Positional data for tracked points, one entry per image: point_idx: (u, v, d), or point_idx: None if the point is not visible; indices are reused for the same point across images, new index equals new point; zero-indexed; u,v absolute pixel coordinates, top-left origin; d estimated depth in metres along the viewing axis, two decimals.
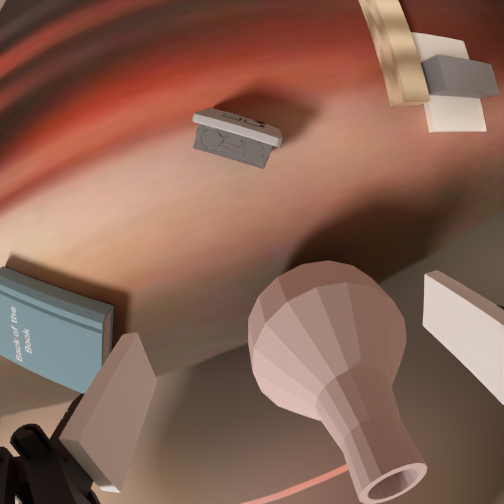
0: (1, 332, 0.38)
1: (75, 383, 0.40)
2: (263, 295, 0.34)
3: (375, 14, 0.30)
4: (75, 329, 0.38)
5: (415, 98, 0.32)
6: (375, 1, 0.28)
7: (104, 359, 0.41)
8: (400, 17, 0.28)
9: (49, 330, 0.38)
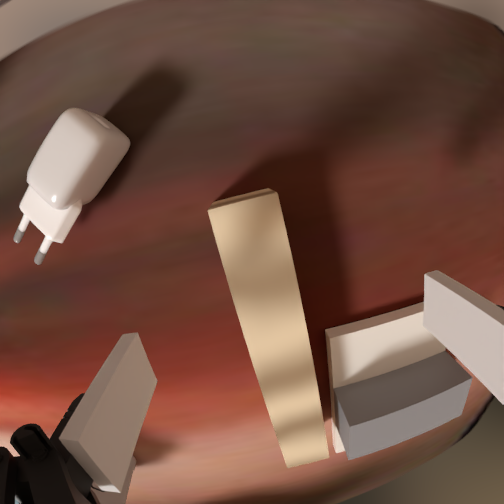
0: None
1: None
2: None
3: None
4: None
5: (303, 462, 0.23)
6: None
7: None
8: (300, 360, 0.20)
9: None
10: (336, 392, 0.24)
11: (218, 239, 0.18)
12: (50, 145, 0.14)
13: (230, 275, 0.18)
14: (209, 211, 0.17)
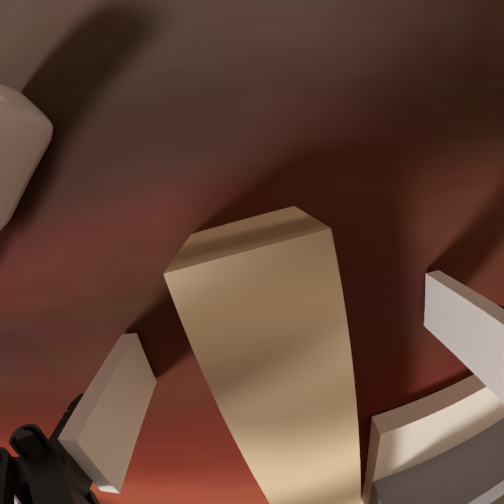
0: None
1: None
2: None
3: None
4: None
5: None
6: (255, 477, 0.09)
7: None
8: (342, 488, 0.10)
9: None
10: (377, 487, 0.14)
11: (193, 336, 0.07)
12: None
13: (225, 400, 0.08)
14: (167, 276, 0.07)
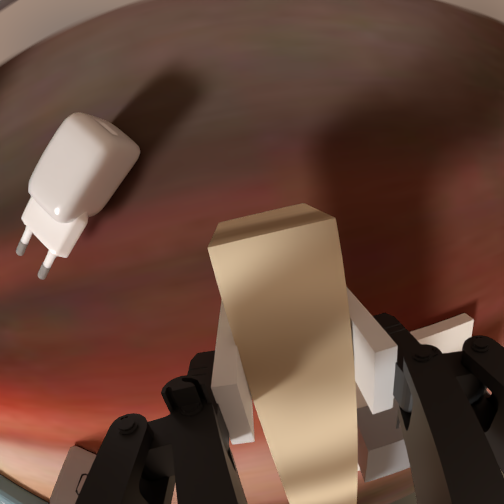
0: None
1: None
2: None
3: None
4: None
5: None
6: (266, 437, 0.12)
7: None
8: (340, 454, 0.12)
9: None
10: None
11: (227, 299, 0.10)
12: (53, 153, 0.13)
13: (247, 356, 0.10)
14: (210, 250, 0.09)
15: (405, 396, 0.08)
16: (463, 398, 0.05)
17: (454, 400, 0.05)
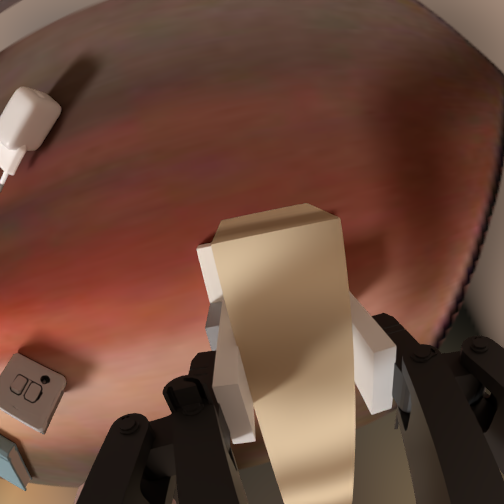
0: None
1: (7, 478, 0.36)
2: (78, 490, 0.30)
3: None
4: None
5: None
6: (263, 437, 0.11)
7: (19, 470, 0.37)
8: (337, 456, 0.12)
9: None
10: (210, 305, 0.29)
11: (228, 297, 0.10)
12: (7, 109, 0.19)
13: (247, 355, 0.10)
14: (214, 247, 0.09)
15: (404, 396, 0.08)
16: (462, 398, 0.05)
17: (453, 400, 0.05)
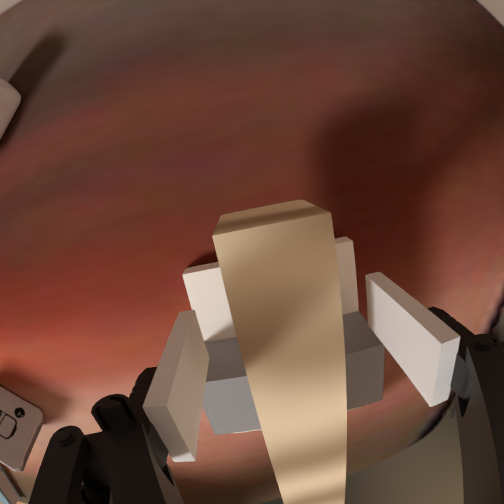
0: None
1: None
2: None
3: None
4: None
5: None
6: (259, 420, 0.12)
7: (6, 490, 0.30)
8: (330, 441, 0.13)
9: None
10: None
11: (228, 284, 0.11)
12: None
13: (244, 339, 0.11)
14: (215, 238, 0.10)
15: (464, 383, 0.07)
16: None
17: None
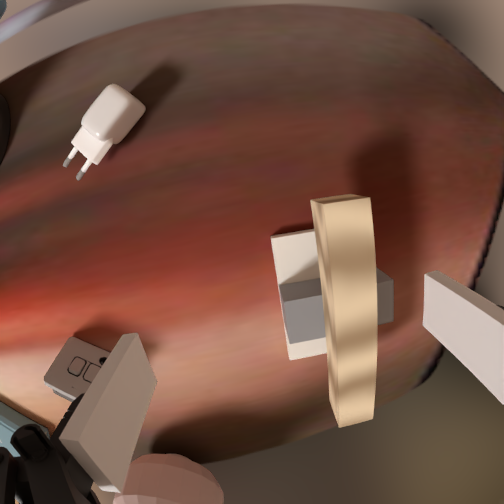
0: None
1: None
2: None
3: (331, 316, 0.27)
4: None
5: (352, 422, 0.29)
6: (333, 305, 0.25)
7: None
8: (368, 324, 0.26)
9: (9, 436, 0.40)
10: (280, 286, 0.35)
11: (328, 226, 0.24)
12: (99, 103, 0.26)
13: (332, 253, 0.24)
14: (324, 205, 0.23)
15: None
16: None
17: None
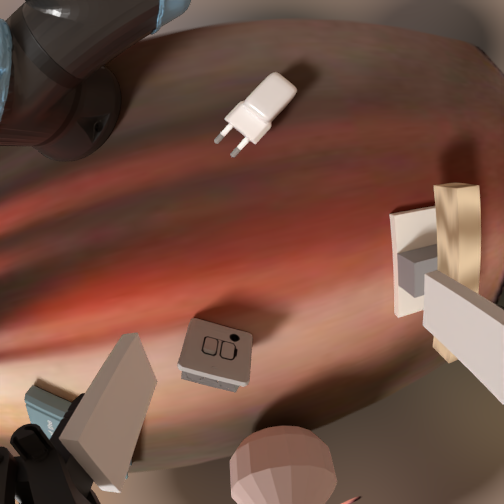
0: None
1: None
2: (238, 453, 0.41)
3: (452, 270, 0.33)
4: None
5: None
6: (458, 260, 0.31)
7: None
8: (475, 274, 0.31)
9: None
10: (399, 254, 0.40)
11: (458, 203, 0.29)
12: (266, 87, 0.31)
13: (460, 222, 0.30)
14: (457, 189, 0.29)
15: None
16: None
17: None
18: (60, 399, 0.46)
